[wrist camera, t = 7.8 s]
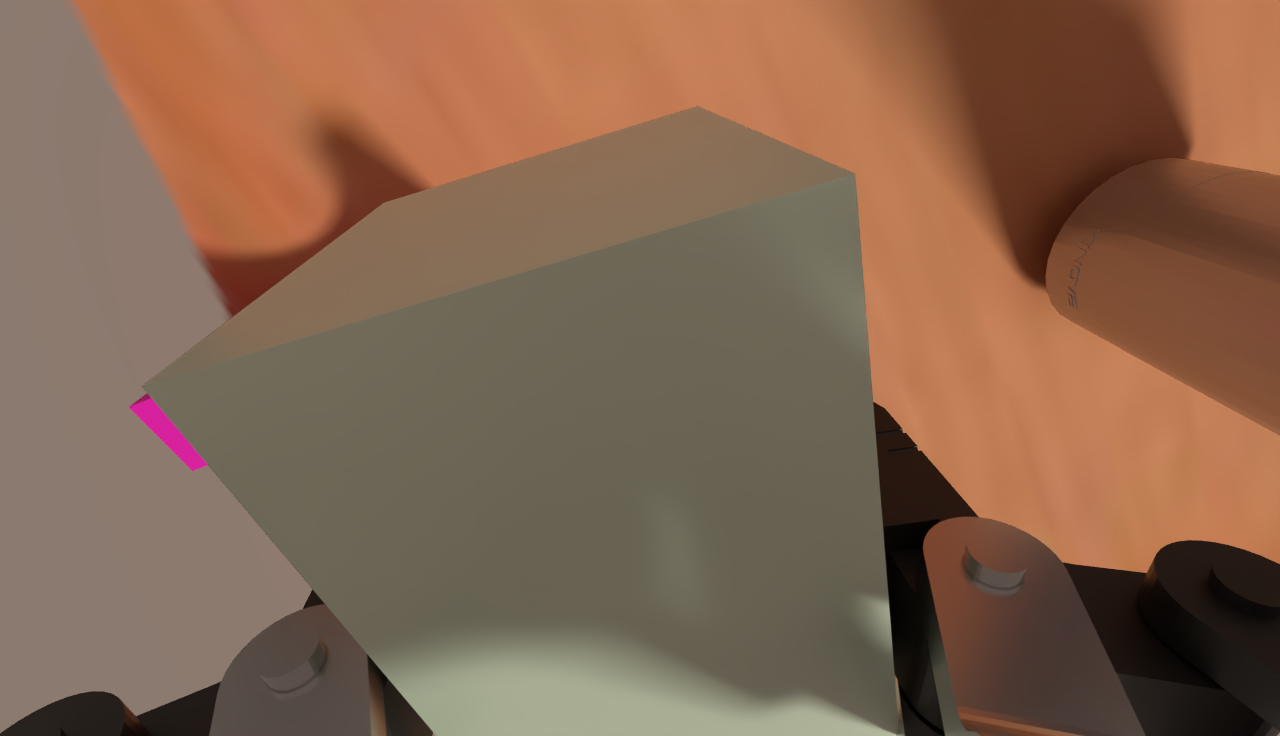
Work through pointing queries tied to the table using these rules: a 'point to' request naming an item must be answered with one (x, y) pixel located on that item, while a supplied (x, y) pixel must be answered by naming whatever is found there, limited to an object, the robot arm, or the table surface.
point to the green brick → (580, 441)
